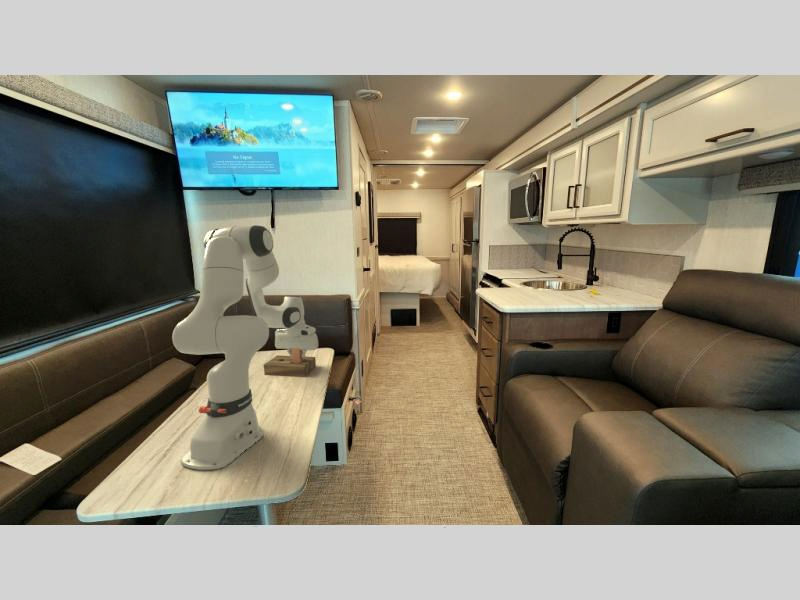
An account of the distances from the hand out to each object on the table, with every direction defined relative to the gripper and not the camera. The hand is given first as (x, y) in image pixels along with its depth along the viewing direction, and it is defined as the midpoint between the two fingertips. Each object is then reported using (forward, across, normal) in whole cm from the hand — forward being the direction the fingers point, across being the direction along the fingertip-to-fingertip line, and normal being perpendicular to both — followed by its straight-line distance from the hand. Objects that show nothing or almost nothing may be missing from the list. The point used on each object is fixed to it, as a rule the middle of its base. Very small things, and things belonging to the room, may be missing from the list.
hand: (297, 357), depth 147 cm
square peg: (+5, 0, 0) cm, 5 cm away
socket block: (+7, -4, 0) cm, 8 cm away
